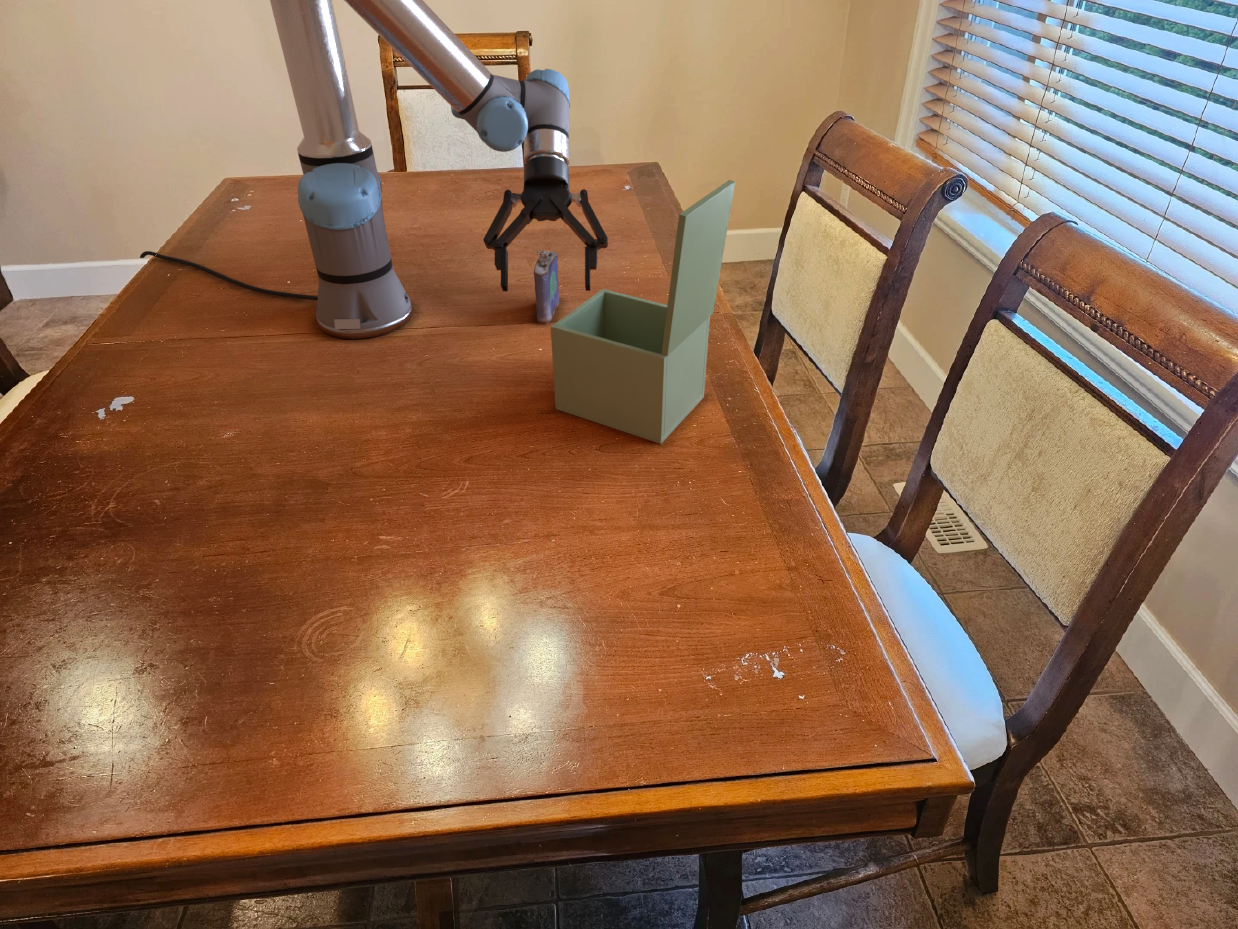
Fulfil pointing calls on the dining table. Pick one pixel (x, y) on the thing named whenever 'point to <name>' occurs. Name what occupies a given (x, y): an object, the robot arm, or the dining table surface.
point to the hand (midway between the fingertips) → (546, 288)
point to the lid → (697, 265)
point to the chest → (626, 366)
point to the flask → (546, 285)
